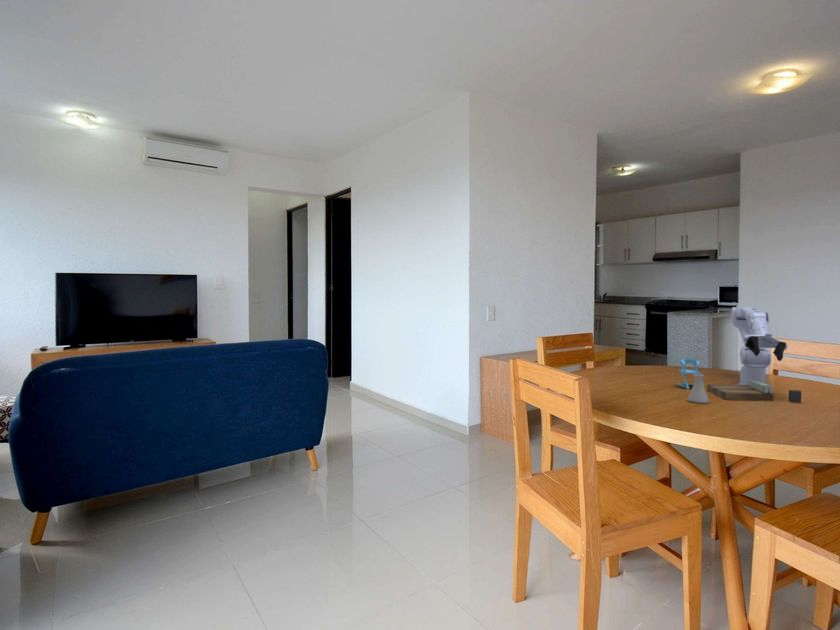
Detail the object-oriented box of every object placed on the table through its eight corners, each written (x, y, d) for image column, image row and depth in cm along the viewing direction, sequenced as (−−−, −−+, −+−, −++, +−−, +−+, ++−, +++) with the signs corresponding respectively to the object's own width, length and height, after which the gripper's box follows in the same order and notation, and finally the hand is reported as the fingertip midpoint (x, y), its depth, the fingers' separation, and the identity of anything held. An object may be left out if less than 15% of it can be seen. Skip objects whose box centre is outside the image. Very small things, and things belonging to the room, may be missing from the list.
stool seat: (707, 390, 195) (707, 384, 195) (750, 391, 192) (750, 384, 192) (726, 399, 179) (726, 393, 179) (773, 400, 177) (773, 394, 176)
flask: (712, 404, 173) (713, 376, 173) (691, 403, 175) (691, 376, 174) (705, 399, 180) (705, 373, 180) (684, 398, 182) (684, 372, 181)
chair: (681, 389, 198) (681, 360, 197) (676, 385, 206) (677, 357, 205) (702, 390, 195) (703, 361, 194) (697, 385, 203) (697, 357, 202)
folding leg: (772, 393, 177) (773, 386, 176) (765, 393, 177) (765, 386, 177) (756, 386, 188) (756, 380, 187) (749, 386, 188) (749, 380, 188)
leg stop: (788, 401, 176) (788, 389, 176) (797, 401, 175) (797, 390, 175) (791, 402, 174) (792, 391, 174) (801, 402, 173) (801, 391, 173)
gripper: (746, 321, 187) (752, 343, 177) (788, 330, 184) (796, 353, 174) (738, 334, 192) (743, 357, 182) (778, 343, 188) (786, 367, 179)
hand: (769, 356), depth 178 cm, fingers open, 7 cm apart
